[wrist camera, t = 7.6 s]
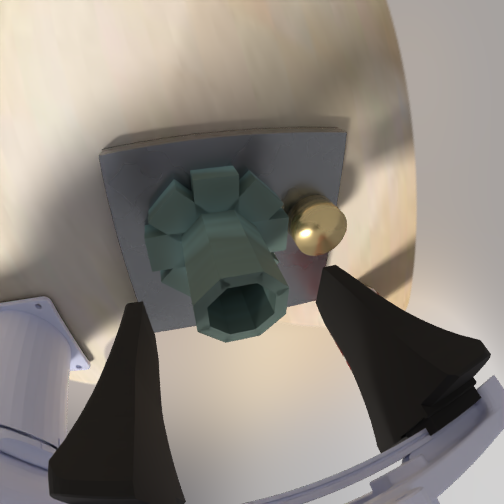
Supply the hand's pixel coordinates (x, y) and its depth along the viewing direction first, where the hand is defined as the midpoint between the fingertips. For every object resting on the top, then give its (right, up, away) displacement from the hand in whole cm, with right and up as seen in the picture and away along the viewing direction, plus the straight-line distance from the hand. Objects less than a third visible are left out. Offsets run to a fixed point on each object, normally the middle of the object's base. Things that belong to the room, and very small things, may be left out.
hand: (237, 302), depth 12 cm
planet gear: (-1, +3, +4) cm, 5 cm away
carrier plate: (-1, +3, +5) cm, 6 cm away
